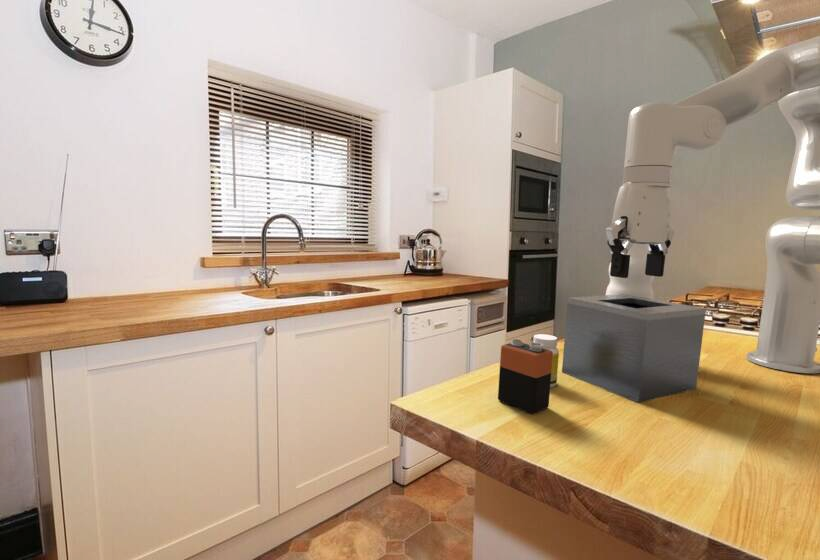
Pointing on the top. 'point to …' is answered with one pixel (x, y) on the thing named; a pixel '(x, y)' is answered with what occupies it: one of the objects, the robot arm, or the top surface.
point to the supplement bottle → (551, 344)
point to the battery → (525, 375)
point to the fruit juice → (633, 276)
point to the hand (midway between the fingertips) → (636, 276)
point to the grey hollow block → (633, 345)
